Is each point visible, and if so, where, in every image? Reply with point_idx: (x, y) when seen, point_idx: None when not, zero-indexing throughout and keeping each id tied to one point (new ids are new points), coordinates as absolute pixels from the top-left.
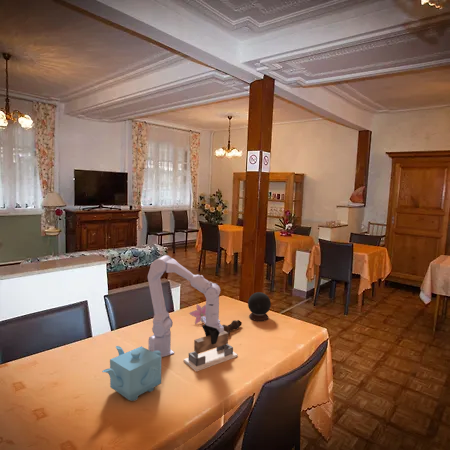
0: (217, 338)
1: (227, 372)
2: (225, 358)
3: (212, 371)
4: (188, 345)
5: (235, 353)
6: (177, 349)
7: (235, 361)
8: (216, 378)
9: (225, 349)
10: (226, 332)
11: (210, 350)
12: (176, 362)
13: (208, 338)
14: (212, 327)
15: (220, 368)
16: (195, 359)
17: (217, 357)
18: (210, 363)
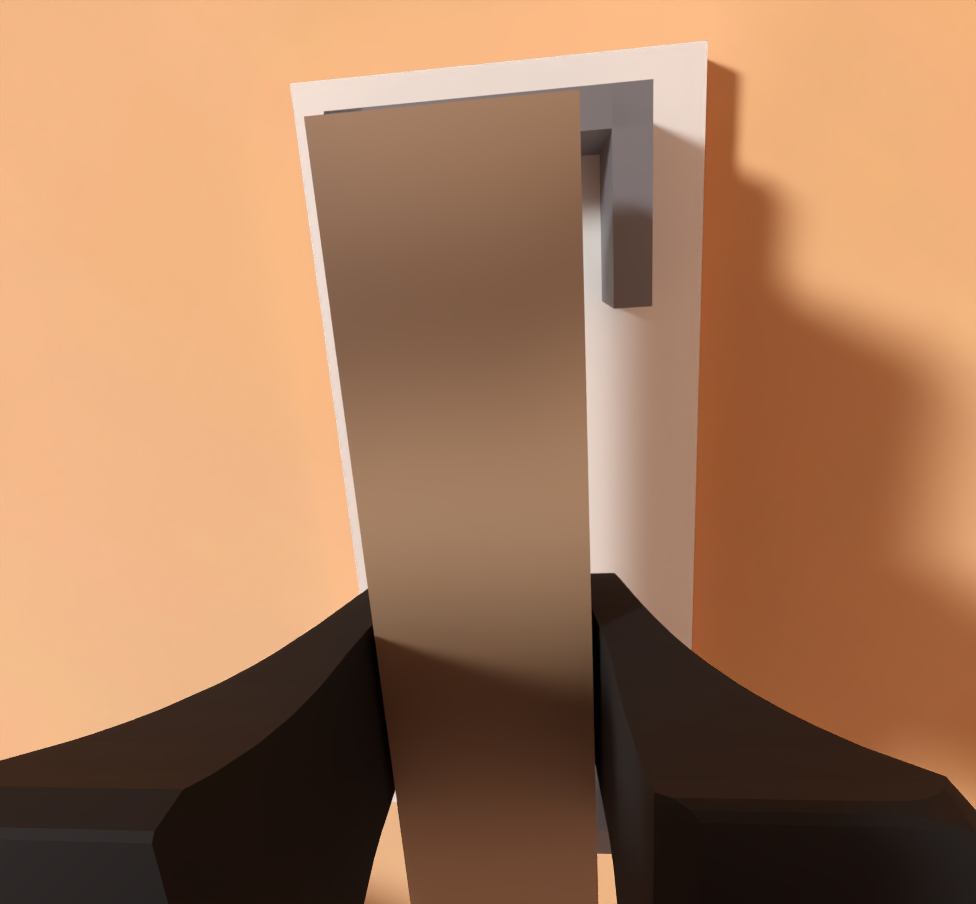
0: (660, 624)
1: (967, 494)
2: (692, 336)
3: (804, 638)
4: (33, 546)
5: (654, 60)
6: (93, 704)
7: (806, 198)
8: (971, 683)
9: (635, 293)
10: (501, 132)
11: (340, 401)
12: (379, 843)
13: (561, 854)
14: (268, 810)
15: (815, 516)
16: (605, 839)
17: (592, 431)
18: (676, 603)
